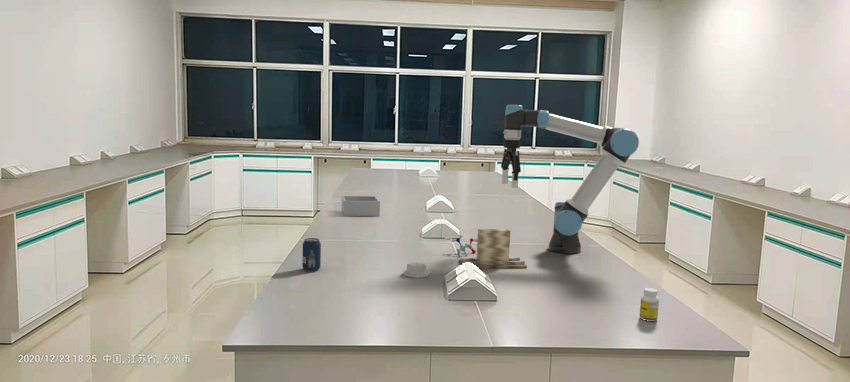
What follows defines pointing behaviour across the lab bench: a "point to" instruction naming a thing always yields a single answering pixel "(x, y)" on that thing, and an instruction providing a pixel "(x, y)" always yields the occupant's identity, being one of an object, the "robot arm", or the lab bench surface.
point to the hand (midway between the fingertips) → (509, 185)
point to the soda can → (311, 254)
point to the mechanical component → (416, 270)
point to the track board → (496, 263)
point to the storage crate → (360, 206)
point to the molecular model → (465, 245)
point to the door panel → (493, 245)
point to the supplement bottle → (649, 305)
